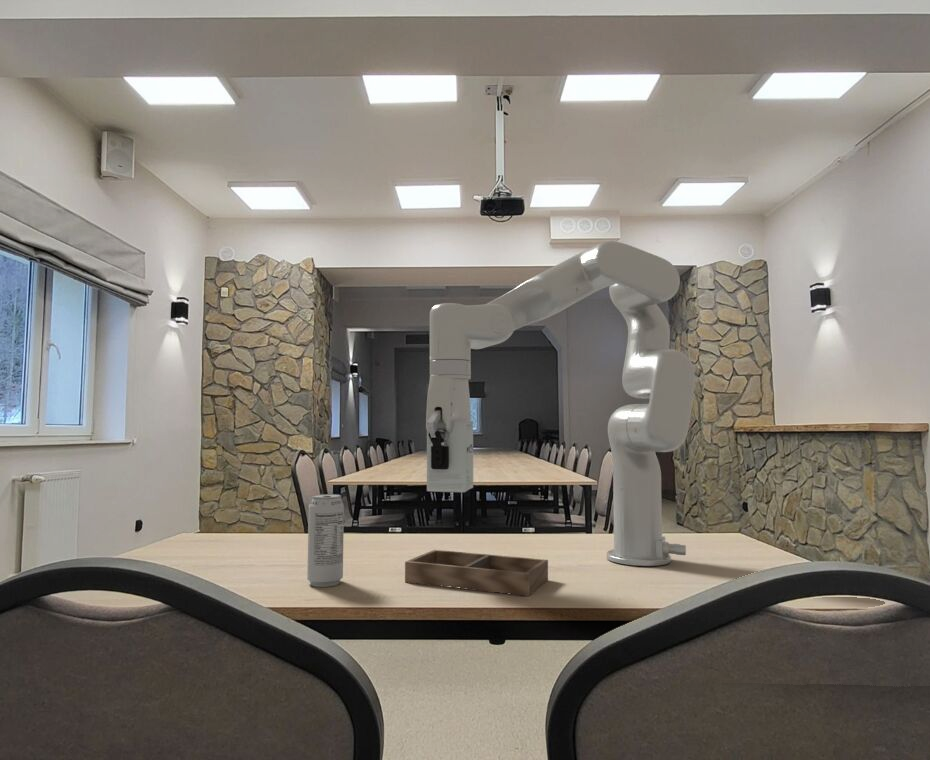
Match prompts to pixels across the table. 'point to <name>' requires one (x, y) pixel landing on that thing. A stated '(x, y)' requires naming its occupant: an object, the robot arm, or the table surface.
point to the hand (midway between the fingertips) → (450, 467)
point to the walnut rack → (478, 571)
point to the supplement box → (453, 460)
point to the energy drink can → (325, 540)
